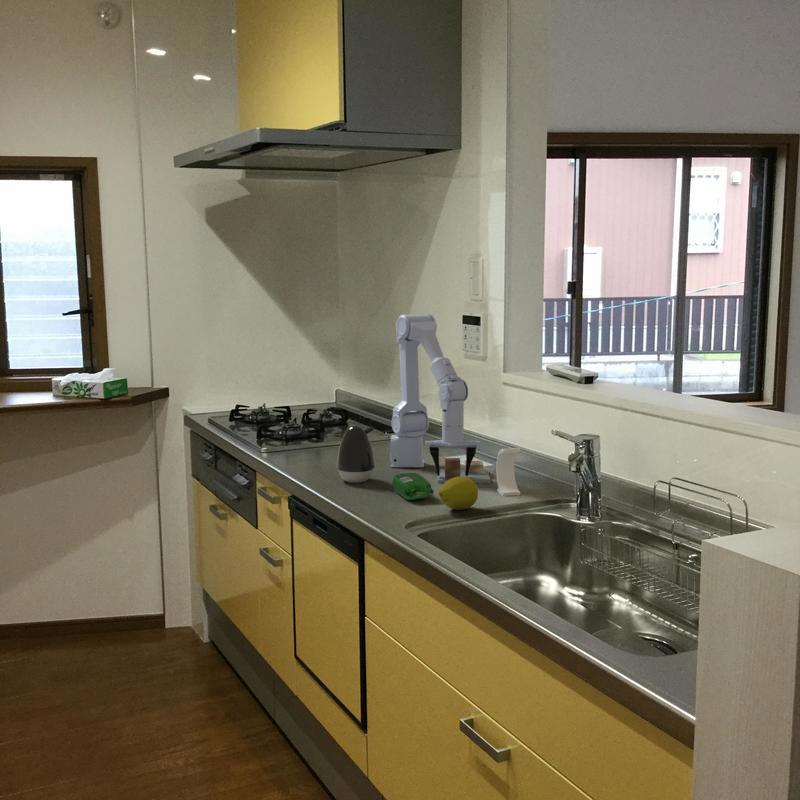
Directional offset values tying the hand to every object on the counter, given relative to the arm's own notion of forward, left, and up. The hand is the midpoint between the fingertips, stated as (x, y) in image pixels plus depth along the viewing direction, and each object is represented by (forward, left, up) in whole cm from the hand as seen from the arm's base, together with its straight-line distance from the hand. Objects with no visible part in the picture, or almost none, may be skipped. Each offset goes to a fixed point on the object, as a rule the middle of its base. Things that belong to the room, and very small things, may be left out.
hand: (452, 474), depth 256 cm
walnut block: (0, 0, -1) cm, 1 cm away
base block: (+6, +7, -1) cm, 9 cm away
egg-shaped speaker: (-26, -1, -2) cm, 26 cm away
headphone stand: (+14, -13, -2) cm, 19 cm away
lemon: (+1, -30, -2) cm, 30 cm away
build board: (+3, +4, -2) cm, 5 cm away
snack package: (-11, -17, -2) cm, 20 cm away
